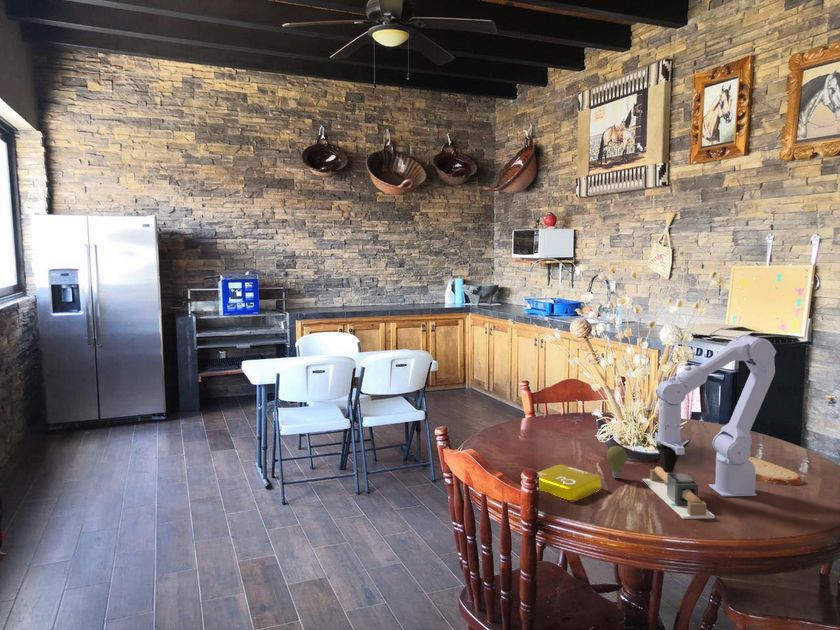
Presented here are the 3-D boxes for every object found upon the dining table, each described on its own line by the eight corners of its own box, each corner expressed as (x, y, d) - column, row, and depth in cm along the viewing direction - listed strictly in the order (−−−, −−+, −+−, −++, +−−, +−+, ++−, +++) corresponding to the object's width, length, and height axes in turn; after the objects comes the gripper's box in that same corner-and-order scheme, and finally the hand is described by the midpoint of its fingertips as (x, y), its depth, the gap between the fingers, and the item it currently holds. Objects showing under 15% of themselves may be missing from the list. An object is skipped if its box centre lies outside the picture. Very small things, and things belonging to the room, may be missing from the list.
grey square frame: (674, 502, 155) (675, 483, 154) (695, 502, 155) (695, 482, 154) (677, 505, 153) (677, 485, 153) (697, 504, 153) (698, 484, 153)
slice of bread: (807, 487, 168) (807, 474, 167) (738, 483, 171) (738, 471, 171) (782, 466, 185) (782, 454, 185) (720, 463, 189) (720, 451, 188)
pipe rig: (642, 480, 173) (642, 464, 173) (669, 480, 173) (669, 464, 173) (683, 518, 147) (683, 499, 147) (714, 518, 147) (715, 499, 147)
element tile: (603, 490, 167) (604, 474, 167) (573, 505, 157) (573, 488, 157) (559, 476, 178) (559, 461, 178) (528, 489, 169) (528, 473, 168)
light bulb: (602, 476, 177) (603, 444, 176) (617, 474, 179) (618, 442, 178) (615, 483, 171) (615, 449, 171) (630, 480, 173) (631, 447, 173)
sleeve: (667, 495, 160) (667, 473, 159) (685, 494, 160) (686, 473, 159) (675, 502, 155) (675, 480, 154) (694, 502, 155) (695, 480, 154)
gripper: (644, 417, 171) (643, 463, 172) (666, 431, 156) (665, 481, 157) (668, 417, 171) (667, 462, 172) (692, 431, 156) (691, 480, 157)
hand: (668, 471), depth 165 cm, fingers closed
